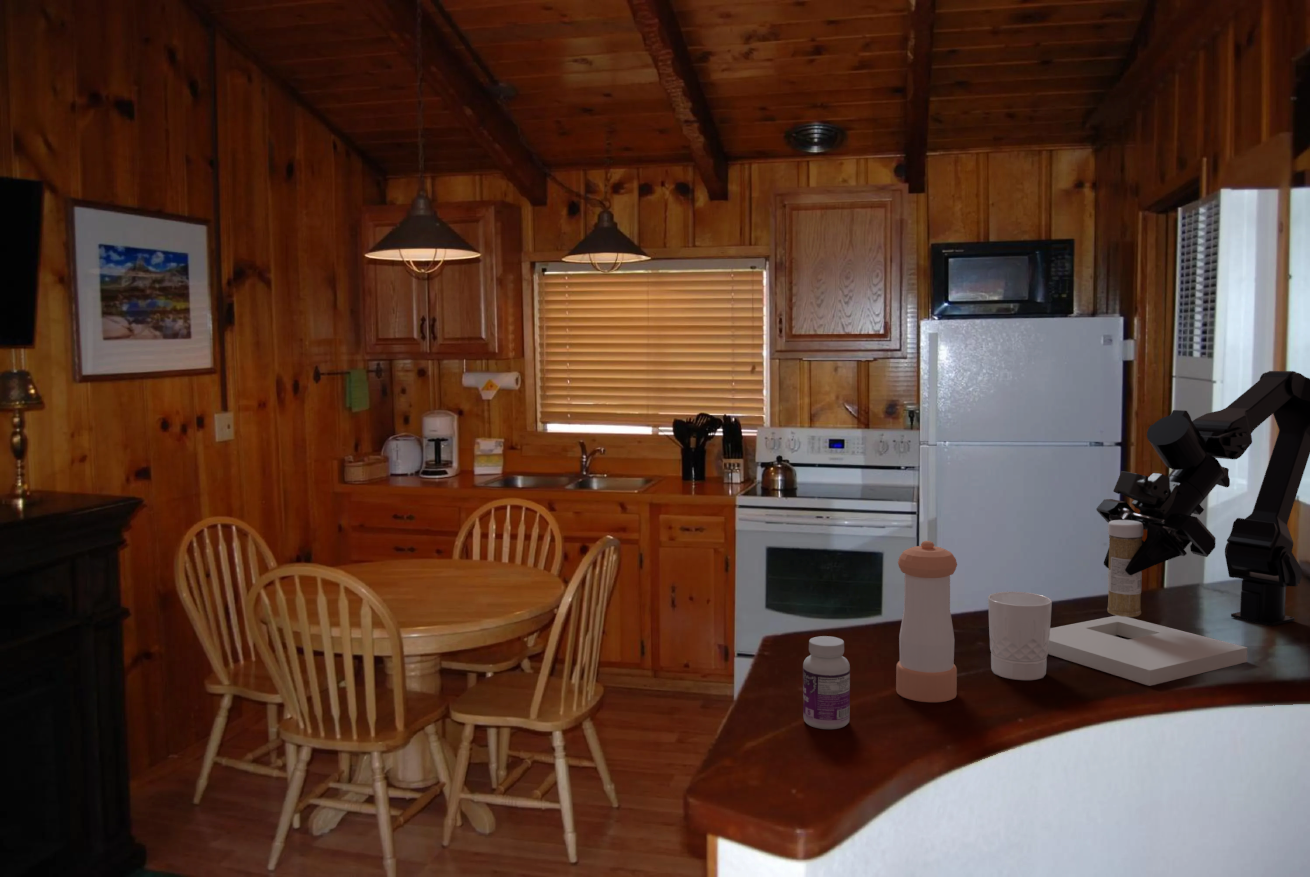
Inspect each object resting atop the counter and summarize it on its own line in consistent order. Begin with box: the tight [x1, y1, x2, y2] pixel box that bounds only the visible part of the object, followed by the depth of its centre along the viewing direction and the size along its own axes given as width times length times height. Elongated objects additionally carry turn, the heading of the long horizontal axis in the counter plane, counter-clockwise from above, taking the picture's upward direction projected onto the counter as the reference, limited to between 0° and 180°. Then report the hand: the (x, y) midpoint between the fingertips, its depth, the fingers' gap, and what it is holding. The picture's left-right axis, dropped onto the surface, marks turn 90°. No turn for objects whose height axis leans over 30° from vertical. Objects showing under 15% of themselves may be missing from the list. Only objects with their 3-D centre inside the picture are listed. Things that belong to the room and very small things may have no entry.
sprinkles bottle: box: [1106, 520, 1144, 618], centre depth 147 cm, size 5×5×14 cm
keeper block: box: [1048, 615, 1248, 686], centre depth 142 cm, size 20×20×2 cm
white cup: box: [987, 591, 1053, 681], centre depth 135 cm, size 8×8×10 cm
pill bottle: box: [802, 635, 851, 730], centre depth 118 cm, size 5×5×10 cm
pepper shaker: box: [895, 540, 958, 703], centre depth 127 cm, size 7×7×19 cm
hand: (1116, 569), depth 146 cm, fingers closed on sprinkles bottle, 4 cm apart
